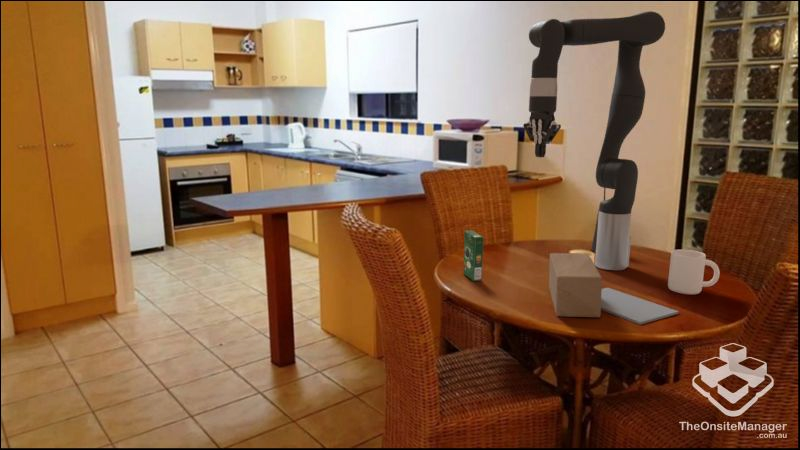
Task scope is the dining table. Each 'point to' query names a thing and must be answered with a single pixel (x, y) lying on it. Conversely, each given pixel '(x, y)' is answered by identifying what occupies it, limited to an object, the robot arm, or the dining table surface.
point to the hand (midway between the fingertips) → (539, 156)
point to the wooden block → (575, 285)
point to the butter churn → (596, 231)
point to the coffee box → (473, 255)
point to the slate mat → (632, 307)
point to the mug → (689, 271)
